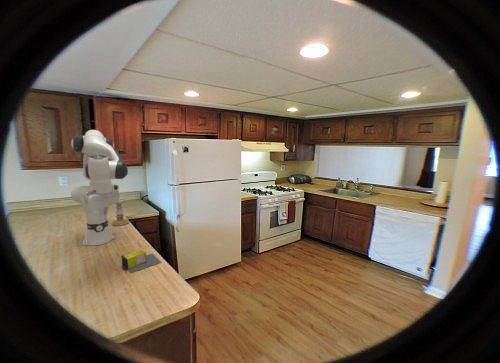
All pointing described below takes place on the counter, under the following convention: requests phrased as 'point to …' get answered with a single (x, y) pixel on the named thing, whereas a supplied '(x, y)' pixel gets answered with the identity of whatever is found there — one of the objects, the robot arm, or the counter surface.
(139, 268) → the mat
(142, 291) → the counter surface
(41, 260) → the counter surface
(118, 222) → the candle holder
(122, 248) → the counter surface
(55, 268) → the counter surface
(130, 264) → the supplement box
